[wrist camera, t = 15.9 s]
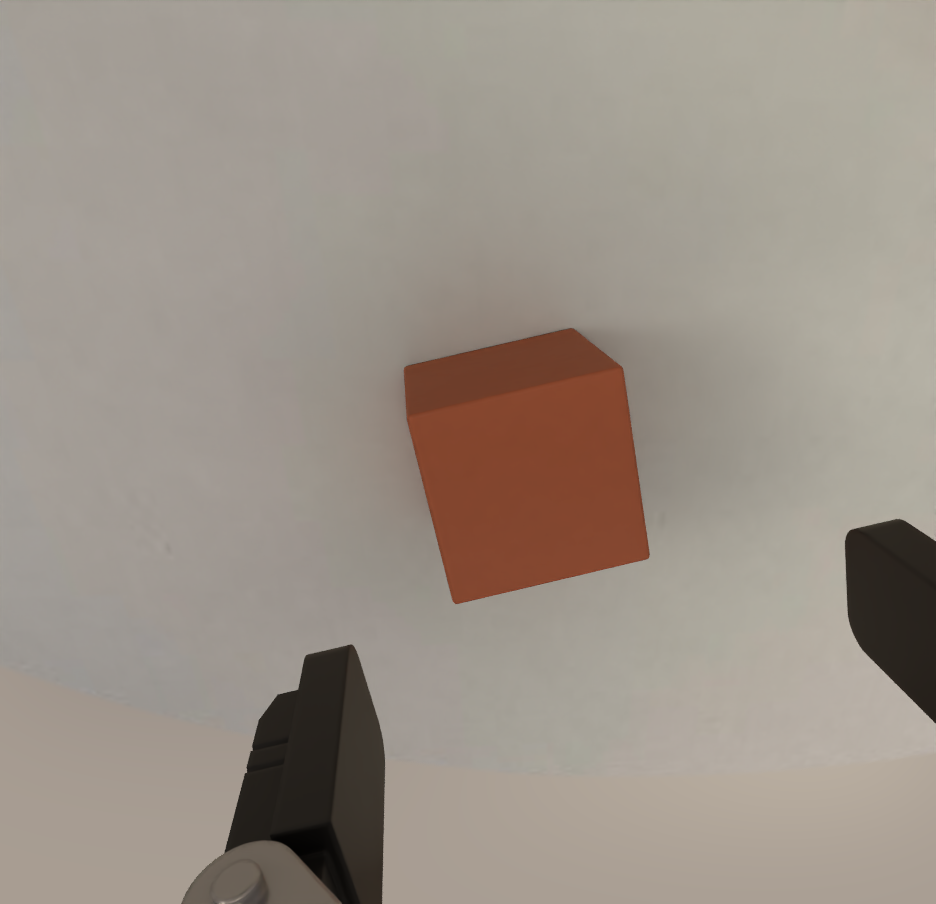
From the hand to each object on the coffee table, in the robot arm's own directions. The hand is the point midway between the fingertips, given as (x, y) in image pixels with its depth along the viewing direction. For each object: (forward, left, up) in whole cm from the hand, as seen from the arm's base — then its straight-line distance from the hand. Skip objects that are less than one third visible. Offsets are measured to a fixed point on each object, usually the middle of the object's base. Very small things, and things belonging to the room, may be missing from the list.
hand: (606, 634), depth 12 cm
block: (0, 0, -11) cm, 11 cm away
